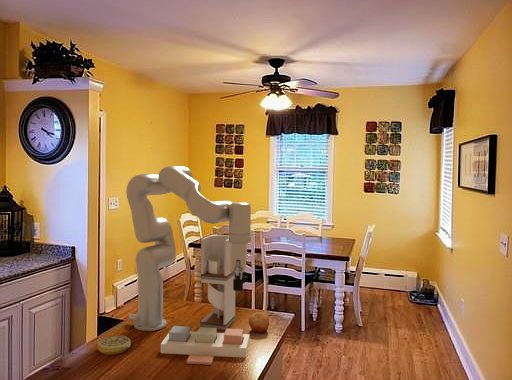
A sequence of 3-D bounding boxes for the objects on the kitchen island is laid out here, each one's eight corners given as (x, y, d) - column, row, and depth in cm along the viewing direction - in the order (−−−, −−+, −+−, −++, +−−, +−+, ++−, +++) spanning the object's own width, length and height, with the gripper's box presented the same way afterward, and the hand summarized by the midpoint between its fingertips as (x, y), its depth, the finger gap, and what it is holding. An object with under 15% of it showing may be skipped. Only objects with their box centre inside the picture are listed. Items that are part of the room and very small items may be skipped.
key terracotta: (223, 344, 145) (223, 335, 145) (226, 337, 151) (226, 328, 151) (241, 345, 145) (241, 335, 145) (243, 338, 151) (243, 329, 151)
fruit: (270, 322, 171) (269, 308, 167) (268, 339, 164) (268, 325, 160) (250, 321, 172) (249, 307, 167) (248, 337, 165) (247, 324, 161)
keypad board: (160, 353, 144) (160, 343, 144) (170, 339, 156) (170, 330, 156) (245, 357, 142) (246, 348, 142) (249, 343, 154) (249, 334, 154)
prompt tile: (186, 363, 137) (186, 361, 137) (190, 356, 142) (190, 354, 142) (211, 364, 136) (211, 362, 136) (213, 357, 141) (213, 355, 141)
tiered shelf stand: (210, 317, 180) (212, 234, 178) (234, 320, 177) (236, 236, 175) (200, 326, 169) (201, 238, 167) (225, 329, 166) (227, 240, 164)
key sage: (196, 342, 146) (196, 333, 146) (199, 336, 152) (199, 327, 152) (213, 343, 146) (213, 334, 146) (216, 336, 152) (216, 328, 152)
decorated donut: (136, 349, 147) (136, 339, 147) (107, 359, 139) (107, 348, 139) (120, 341, 154) (120, 330, 154) (92, 350, 146) (92, 339, 146)
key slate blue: (169, 341, 147) (169, 332, 147) (173, 334, 153) (173, 325, 153) (186, 342, 146) (186, 333, 146) (190, 335, 152) (190, 326, 152)
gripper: (231, 234, 157) (231, 280, 158) (225, 241, 140) (225, 293, 141) (252, 234, 157) (251, 280, 158) (248, 242, 140) (248, 294, 140)
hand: (239, 286), depth 149 cm, fingers open, 9 cm apart
